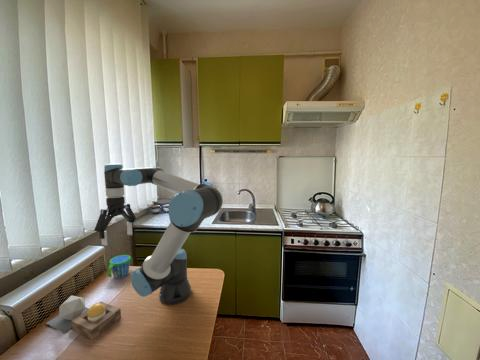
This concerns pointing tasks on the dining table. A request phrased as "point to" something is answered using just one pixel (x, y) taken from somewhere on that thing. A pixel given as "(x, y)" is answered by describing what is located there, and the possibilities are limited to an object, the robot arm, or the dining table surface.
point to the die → (71, 308)
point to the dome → (96, 312)
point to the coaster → (62, 323)
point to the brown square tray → (94, 329)
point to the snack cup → (119, 266)
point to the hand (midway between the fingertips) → (118, 239)
